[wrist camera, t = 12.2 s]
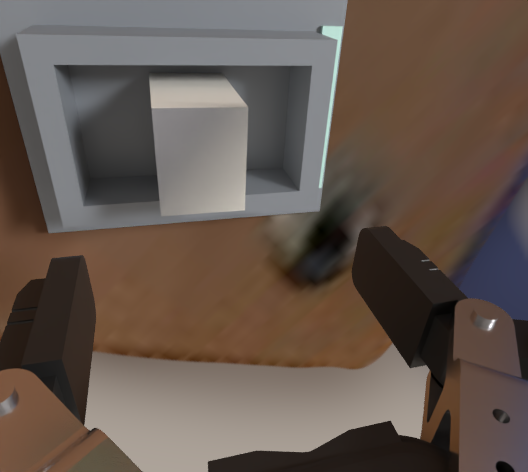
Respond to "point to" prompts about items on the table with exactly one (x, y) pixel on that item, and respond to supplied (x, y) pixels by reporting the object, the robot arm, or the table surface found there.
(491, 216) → the table surface
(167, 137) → the block
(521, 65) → the table surface
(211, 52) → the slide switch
